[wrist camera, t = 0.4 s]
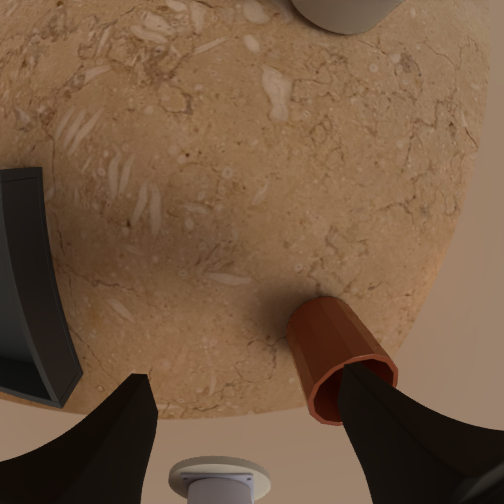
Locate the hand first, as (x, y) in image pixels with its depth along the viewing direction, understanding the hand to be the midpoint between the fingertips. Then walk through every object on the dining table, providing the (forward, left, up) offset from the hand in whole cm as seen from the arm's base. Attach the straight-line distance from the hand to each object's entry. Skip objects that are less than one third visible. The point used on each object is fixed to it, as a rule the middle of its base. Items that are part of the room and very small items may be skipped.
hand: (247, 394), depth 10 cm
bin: (+1, +21, -9) cm, 23 cm away
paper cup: (-3, -6, -9) cm, 11 cm away
